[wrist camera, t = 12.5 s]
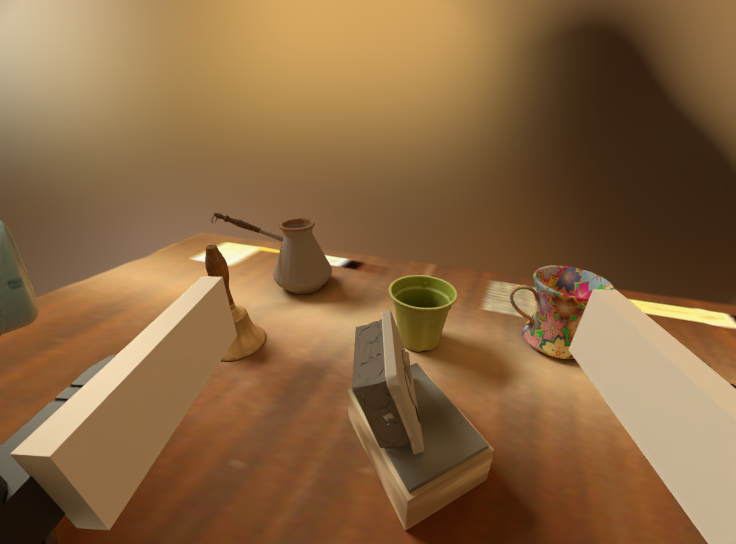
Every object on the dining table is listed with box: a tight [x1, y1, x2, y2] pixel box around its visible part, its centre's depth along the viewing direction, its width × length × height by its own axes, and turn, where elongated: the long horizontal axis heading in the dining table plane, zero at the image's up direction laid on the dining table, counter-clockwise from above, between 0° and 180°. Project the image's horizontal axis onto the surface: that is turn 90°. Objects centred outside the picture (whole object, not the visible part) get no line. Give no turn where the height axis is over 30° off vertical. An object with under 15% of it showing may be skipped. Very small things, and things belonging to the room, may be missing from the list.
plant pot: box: [389, 275, 457, 352], centre depth 46 cm, size 9×9×9 cm
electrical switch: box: [352, 311, 424, 454], centre depth 29 cm, size 9×5×9 cm, turn 0°
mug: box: [510, 266, 615, 359], centre depth 44 cm, size 12×9×11 cm
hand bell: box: [205, 245, 266, 361], centre depth 44 cm, size 8×8×16 cm
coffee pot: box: [211, 213, 332, 294], centre depth 60 cm, size 21×12×15 cm, turn 88°
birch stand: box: [347, 363, 495, 531], centre depth 31 cm, size 12×9×5 cm
